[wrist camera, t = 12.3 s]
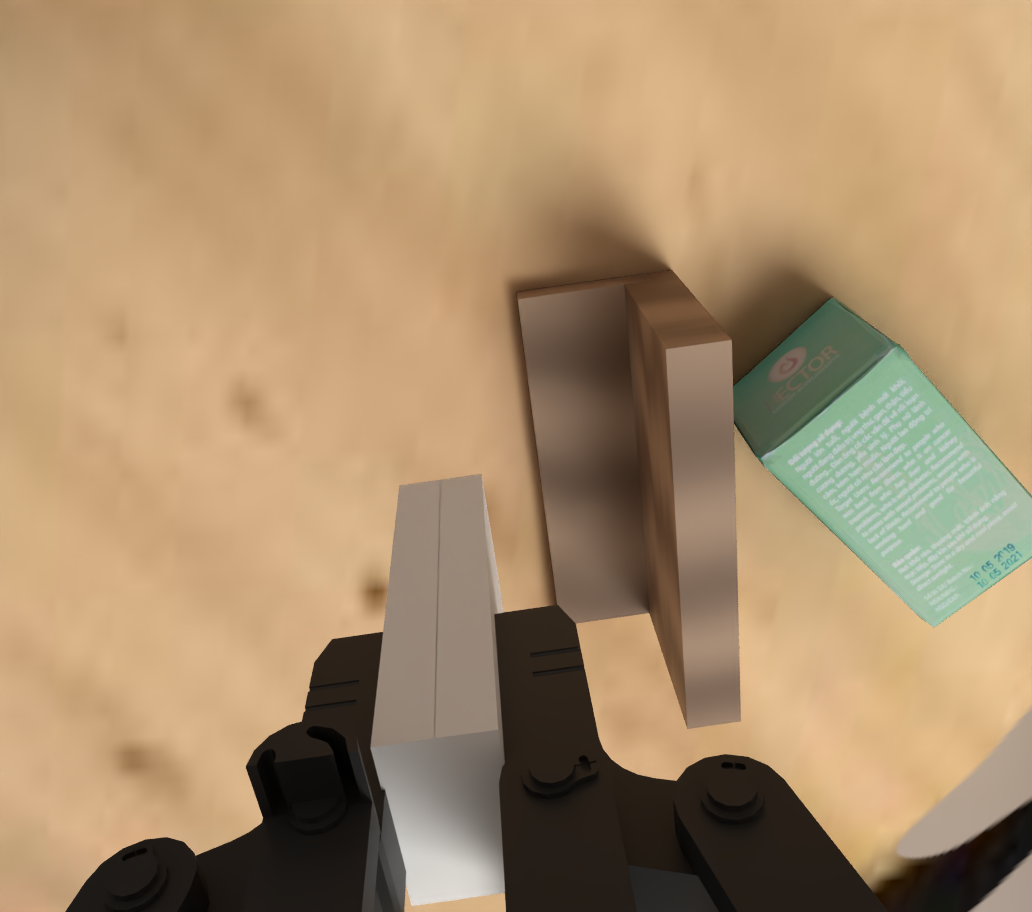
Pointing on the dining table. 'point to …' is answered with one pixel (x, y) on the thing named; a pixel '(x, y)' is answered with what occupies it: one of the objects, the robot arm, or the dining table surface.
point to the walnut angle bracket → (641, 470)
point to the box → (885, 462)
